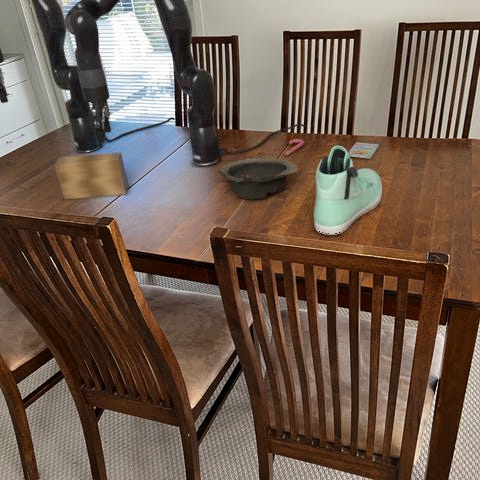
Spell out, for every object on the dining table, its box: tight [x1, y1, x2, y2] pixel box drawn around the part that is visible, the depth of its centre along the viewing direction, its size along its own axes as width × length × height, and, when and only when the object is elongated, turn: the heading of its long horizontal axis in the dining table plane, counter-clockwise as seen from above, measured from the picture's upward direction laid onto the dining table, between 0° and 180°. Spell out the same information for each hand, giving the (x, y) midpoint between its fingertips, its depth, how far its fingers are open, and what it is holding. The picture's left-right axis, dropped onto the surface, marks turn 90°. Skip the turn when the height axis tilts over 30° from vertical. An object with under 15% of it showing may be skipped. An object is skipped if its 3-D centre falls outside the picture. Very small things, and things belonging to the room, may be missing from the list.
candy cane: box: [284, 138, 305, 156], centre depth 182 cm, size 6×15×2 cm, turn 145°
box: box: [54, 151, 129, 200], centre depth 157 cm, size 20×6×12 cm, turn 93°
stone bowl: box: [217, 157, 299, 201], centre depth 152 cm, size 25×25×9 cm
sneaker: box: [313, 145, 383, 236], centre depth 133 cm, size 14×35×20 cm, turn 152°
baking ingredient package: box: [347, 141, 380, 159], centre depth 175 cm, size 9×1×15 cm
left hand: (4, 99), depth 158 cm, fingers open, 8 cm apart
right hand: (105, 136), depth 151 cm, fingers open, 8 cm apart
